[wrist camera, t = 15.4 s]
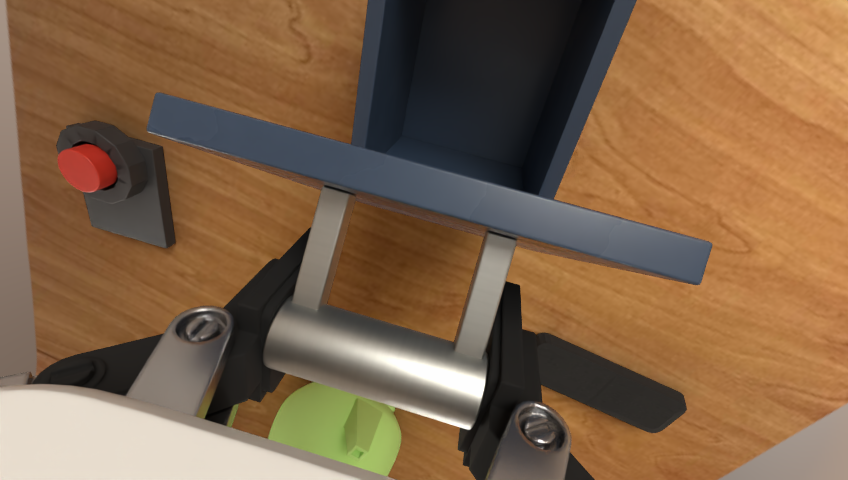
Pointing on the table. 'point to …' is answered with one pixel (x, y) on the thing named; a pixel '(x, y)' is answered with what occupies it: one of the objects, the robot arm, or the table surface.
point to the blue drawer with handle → (427, 200)
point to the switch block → (127, 184)
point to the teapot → (339, 427)
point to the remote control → (607, 385)
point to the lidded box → (485, 83)
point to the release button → (87, 167)
